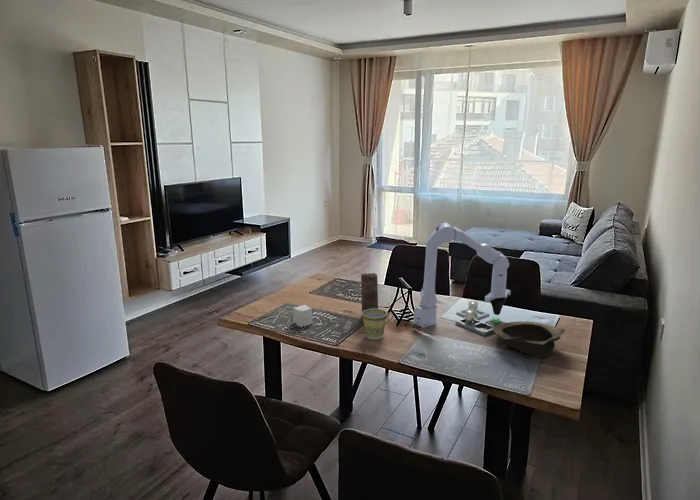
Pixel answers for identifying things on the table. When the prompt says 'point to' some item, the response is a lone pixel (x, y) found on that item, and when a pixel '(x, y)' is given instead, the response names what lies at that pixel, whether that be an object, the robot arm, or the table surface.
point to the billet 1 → (473, 306)
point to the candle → (369, 291)
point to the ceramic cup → (375, 322)
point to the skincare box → (302, 315)
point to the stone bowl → (530, 337)
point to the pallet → (477, 326)
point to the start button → (496, 321)
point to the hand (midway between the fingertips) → (496, 314)
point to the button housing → (492, 323)
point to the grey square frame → (475, 317)
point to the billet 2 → (469, 317)
